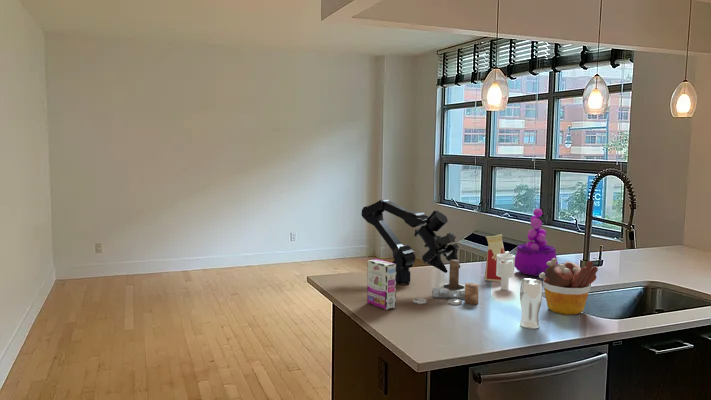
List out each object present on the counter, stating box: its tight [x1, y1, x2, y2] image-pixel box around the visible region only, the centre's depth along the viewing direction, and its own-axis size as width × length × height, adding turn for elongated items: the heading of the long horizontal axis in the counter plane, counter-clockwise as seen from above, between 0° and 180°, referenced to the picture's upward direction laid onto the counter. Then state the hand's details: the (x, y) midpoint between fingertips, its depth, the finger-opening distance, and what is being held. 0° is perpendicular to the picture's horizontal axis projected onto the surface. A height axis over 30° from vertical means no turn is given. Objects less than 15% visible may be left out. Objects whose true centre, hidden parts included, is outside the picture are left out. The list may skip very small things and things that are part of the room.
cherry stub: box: [464, 282, 480, 306], centre depth 208 cm, size 5×5×7 cm
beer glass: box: [519, 278, 543, 330], centre depth 183 cm, size 7×7×15 cm
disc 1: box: [412, 297, 428, 305], centre depth 209 cm, size 5×5×1 cm
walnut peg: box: [448, 259, 460, 290], centre depth 218 cm, size 4×4×13 cm
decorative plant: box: [514, 207, 559, 277], centre depth 249 cm, size 19×18×30 cm
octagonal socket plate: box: [432, 282, 465, 300], centre depth 219 cm, size 16×12×3 cm
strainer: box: [496, 250, 516, 291], centre depth 226 cm, size 7×7×15 cm
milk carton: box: [483, 233, 507, 283], centre depth 242 cm, size 9×9×20 cm
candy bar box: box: [366, 258, 397, 311], centre depth 204 cm, size 11×5×16 cm, turn 37°
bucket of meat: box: [538, 257, 599, 316], centre depth 198 cm, size 20×16×20 cm
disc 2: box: [447, 299, 463, 306], centre depth 208 cm, size 5×5×1 cm
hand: (453, 270), depth 218 cm, fingers open, 9 cm apart
